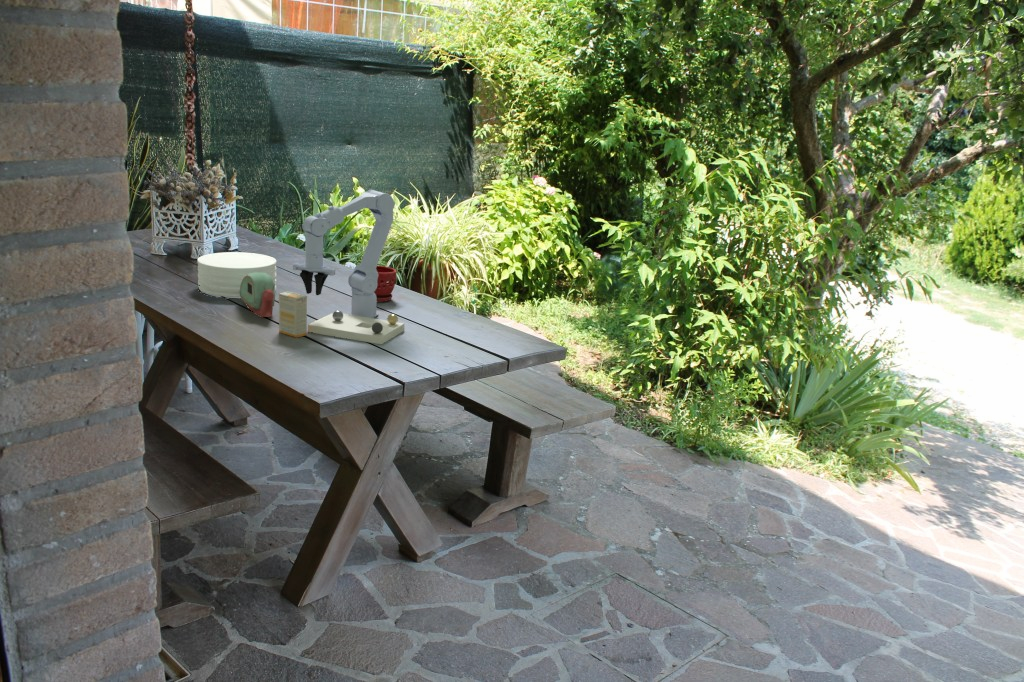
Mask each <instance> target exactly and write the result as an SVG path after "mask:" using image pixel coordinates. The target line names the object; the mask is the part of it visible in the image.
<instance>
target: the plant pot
mask: <svg viewBox="0 0 1024 682" xmlns="http://www.w3.org/2000/svg"><path fill="white" fill-rule="evenodd" d="M376 270H377V272H378V275H379V276H378V279H377V288H376V290H375V291H374V293H375V294H376V297H377V303H383V302H388V301H390V300H391V299H393V294H392V292H393V290H394V288H395V285H396V281H397V270H396V269H395V268H392V267H389V266H384V265H383V266H382V265H377V267H376Z"/></svg>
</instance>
